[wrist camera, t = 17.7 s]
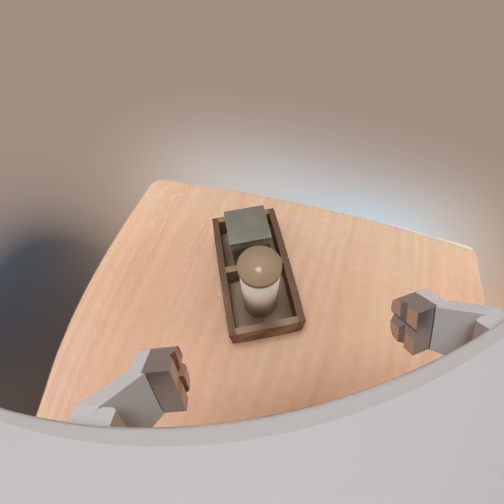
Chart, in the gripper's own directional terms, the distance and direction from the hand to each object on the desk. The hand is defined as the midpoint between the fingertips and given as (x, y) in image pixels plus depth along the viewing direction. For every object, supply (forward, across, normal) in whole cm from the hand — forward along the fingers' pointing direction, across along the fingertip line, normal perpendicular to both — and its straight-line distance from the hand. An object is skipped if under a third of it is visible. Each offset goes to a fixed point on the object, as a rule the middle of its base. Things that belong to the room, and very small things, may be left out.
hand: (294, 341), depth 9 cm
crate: (+37, -1, +10) cm, 38 cm away
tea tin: (+40, -1, +6) cm, 40 cm away
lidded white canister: (+32, -1, +13) cm, 35 cm away
